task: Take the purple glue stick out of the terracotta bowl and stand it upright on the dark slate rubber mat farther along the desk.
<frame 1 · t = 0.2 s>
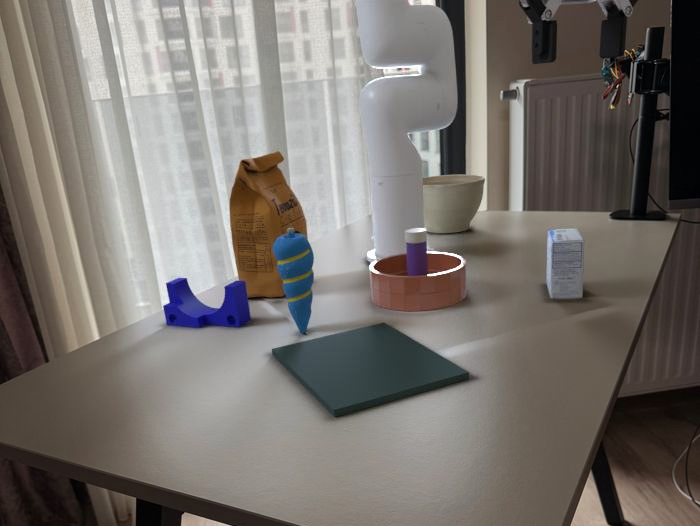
hand: (578, 60, 72), 31 cm above the table, tool pointing down, fingers open, 9 cm apart
medicine box: (563, 294, 95), on the table
planter bowl: (447, 230, 142), on the table
bowl: (418, 299, 98), on the table
mat: (363, 365, 76), on the table
ornament: (302, 334, 88), on the table
coffee package: (278, 291, 109), on the table
blue pipe cradle: (208, 323, 96), on the table
glue stick: (418, 295, 98), resting on bowl
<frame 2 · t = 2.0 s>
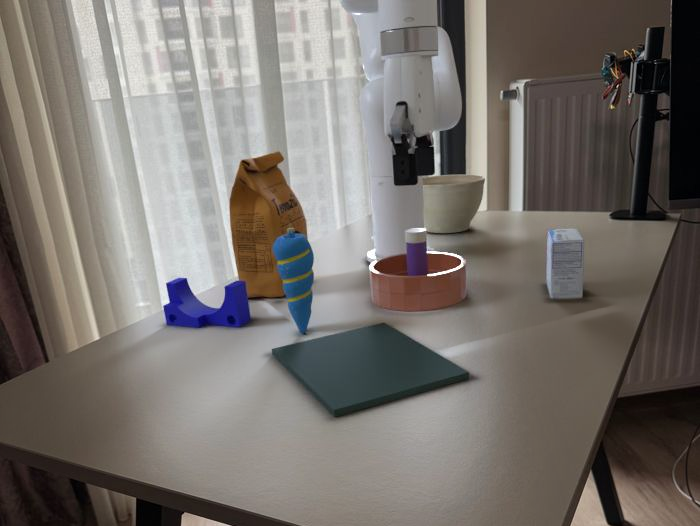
hand: (415, 180, 91), 18 cm above the table, tool pointing down, fingers open, 9 cm apart
nothing on the table moved.
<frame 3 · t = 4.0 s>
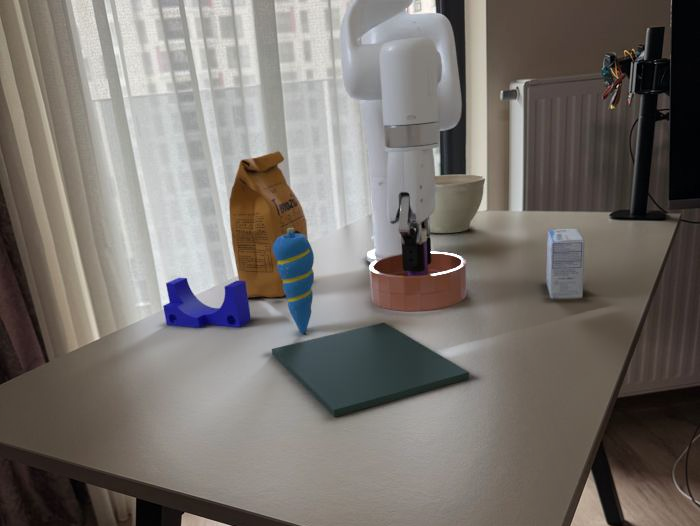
hand: (417, 266, 96), 5 cm above the table, tool pointing down, fingers closed on glue stick, 3 cm apart
glue stick: (418, 295, 98), point 1 cm above the table, touching bowl, gripper
everything else where it was.
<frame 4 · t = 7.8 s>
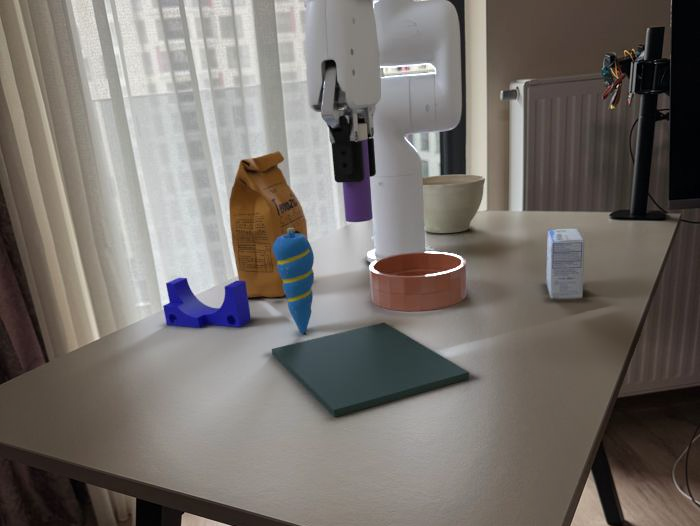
hand: (355, 177, 70), 21 cm above the table, tool pointing down, fingers closed on glue stick, 3 cm apart
glue stick: (359, 219, 72), point 17 cm above the table, touching gripper
everything else where it was.
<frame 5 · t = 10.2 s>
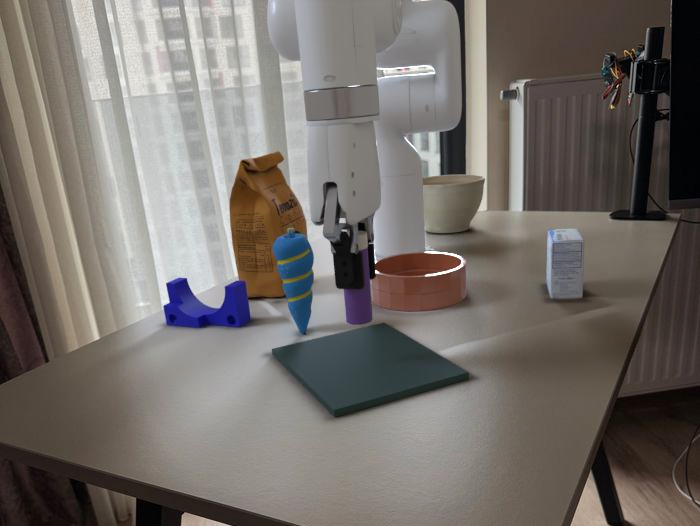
hand: (356, 281, 72), 10 cm above the table, tool pointing down, fingers closed on glue stick, 3 cm apart
glue stick: (359, 320, 74), point 6 cm above the table, touching gripper
everything else where it was.
when the fingers open (5 cm above the table, at t = 11.7 s): glue stick stays where it is, resting on mat.
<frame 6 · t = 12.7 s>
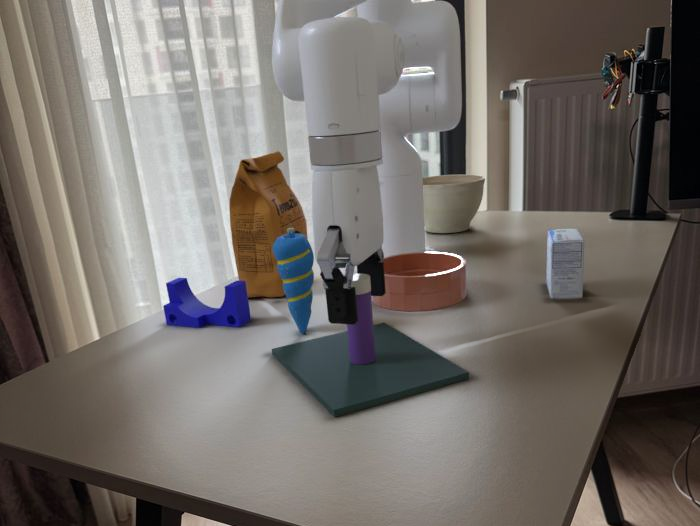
hand: (358, 308, 73), 7 cm above the table, tool pointing down, fingers open, 9 cm apart
glue stick: (362, 359, 76), point 1 cm above the table, touching mat
everything else where it was.
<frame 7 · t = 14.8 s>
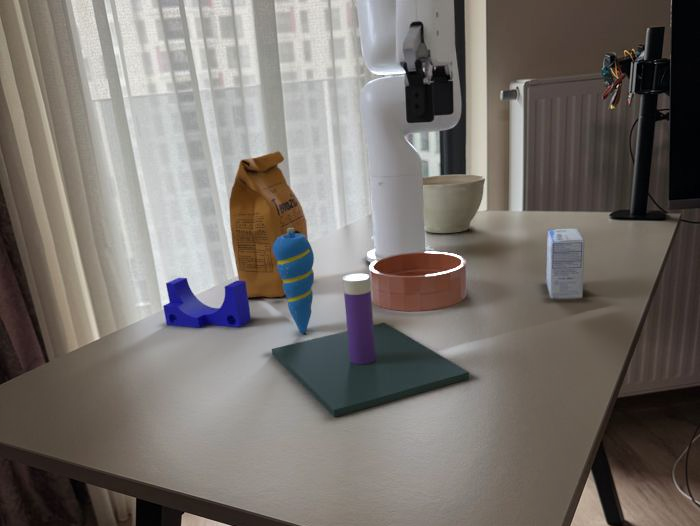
hand: (431, 118, 80), 26 cm above the table, tool pointing down, fingers open, 9 cm apart
nothing on the table moved.
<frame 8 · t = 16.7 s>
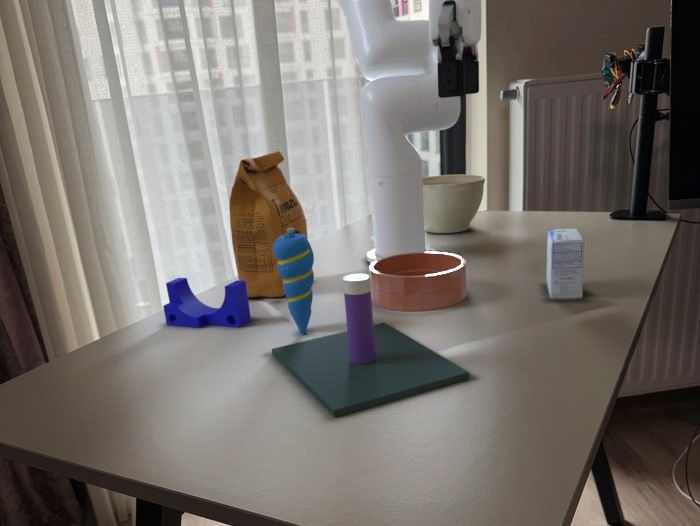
hand: (459, 95, 84), 28 cm above the table, tool pointing down, fingers open, 9 cm apart
nothing on the table moved.
at the end: glue stick inside the target area on the mat (0.1 cm from its centre), point 0.8 cm above the mat's base; glue stick tilted 0°; glue stick moved 25.5 cm from its start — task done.
